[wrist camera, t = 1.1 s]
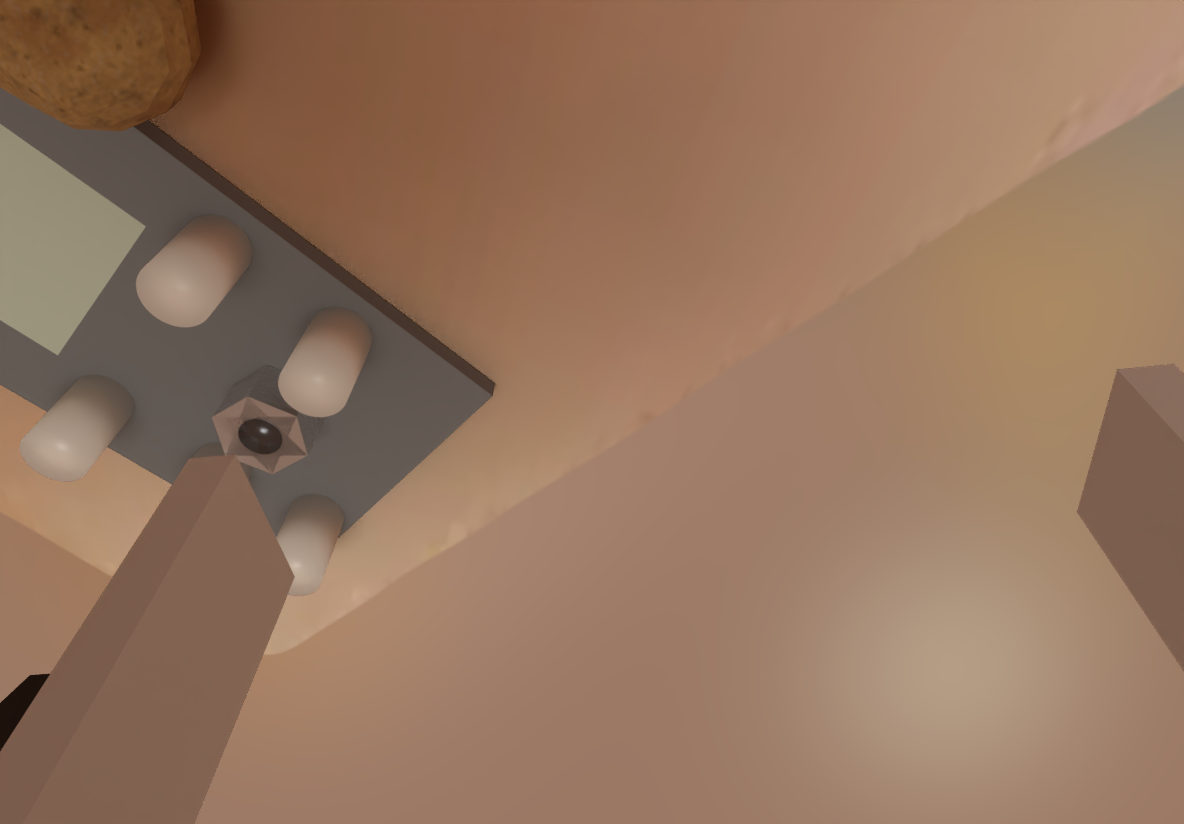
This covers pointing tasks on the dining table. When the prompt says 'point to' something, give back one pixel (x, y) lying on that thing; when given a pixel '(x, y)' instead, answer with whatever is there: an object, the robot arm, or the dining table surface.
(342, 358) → the spacers
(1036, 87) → the dining table surface
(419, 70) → the dining table surface
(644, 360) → the dining table surface
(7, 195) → the mat
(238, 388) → the nut
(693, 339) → the dining table surface
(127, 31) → the potato
